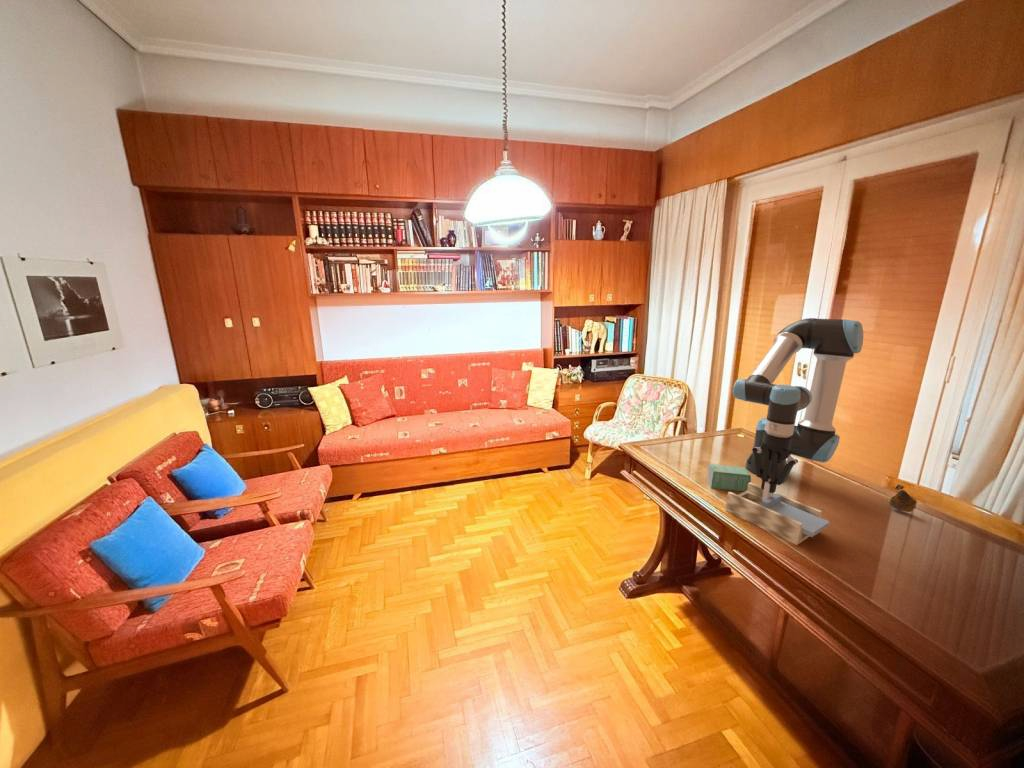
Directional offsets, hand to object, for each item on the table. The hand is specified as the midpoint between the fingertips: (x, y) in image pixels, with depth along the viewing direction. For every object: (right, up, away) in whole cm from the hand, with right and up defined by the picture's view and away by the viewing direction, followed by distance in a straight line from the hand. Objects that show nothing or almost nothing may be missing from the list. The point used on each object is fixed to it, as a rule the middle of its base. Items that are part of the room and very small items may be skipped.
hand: (766, 499), depth 128 cm
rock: (+49, -6, +6) cm, 50 cm away
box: (0, -2, +23) cm, 23 cm away
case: (+1, -7, 0) cm, 7 cm away
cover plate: (+4, -4, -6) cm, 9 cm away
